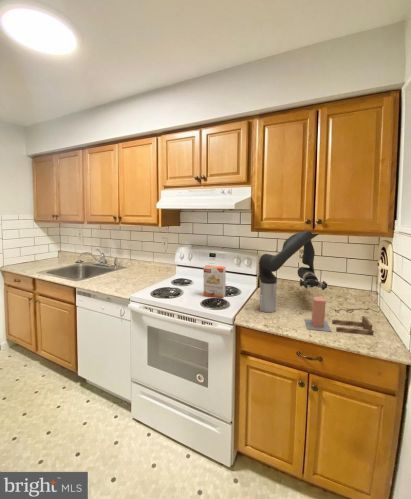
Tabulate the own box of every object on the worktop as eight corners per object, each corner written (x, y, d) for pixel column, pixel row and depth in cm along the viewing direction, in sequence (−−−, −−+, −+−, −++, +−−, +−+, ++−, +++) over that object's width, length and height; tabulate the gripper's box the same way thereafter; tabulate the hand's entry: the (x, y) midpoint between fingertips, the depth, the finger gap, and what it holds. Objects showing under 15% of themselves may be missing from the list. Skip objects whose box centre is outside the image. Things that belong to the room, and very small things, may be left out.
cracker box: (203, 296, 174) (203, 266, 170) (206, 293, 179) (206, 264, 175) (223, 299, 169) (223, 268, 165) (225, 295, 174) (225, 266, 170)
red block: (312, 326, 130) (314, 300, 127) (311, 322, 135) (313, 296, 132) (323, 327, 129) (325, 301, 126) (321, 322, 134) (323, 297, 131)
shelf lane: (336, 331, 126) (337, 322, 125) (331, 322, 135) (332, 313, 134) (373, 335, 122) (374, 325, 121) (365, 325, 131) (366, 316, 130)
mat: (307, 329, 128) (307, 328, 128) (304, 319, 138) (304, 319, 138) (331, 331, 125) (331, 331, 125) (326, 321, 136) (326, 320, 136)
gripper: (298, 272, 156) (302, 279, 140) (323, 274, 153) (330, 282, 137) (297, 284, 157) (300, 292, 141) (322, 286, 154) (328, 295, 138)
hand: (315, 287), depth 139 cm, fingers open, 8 cm apart
